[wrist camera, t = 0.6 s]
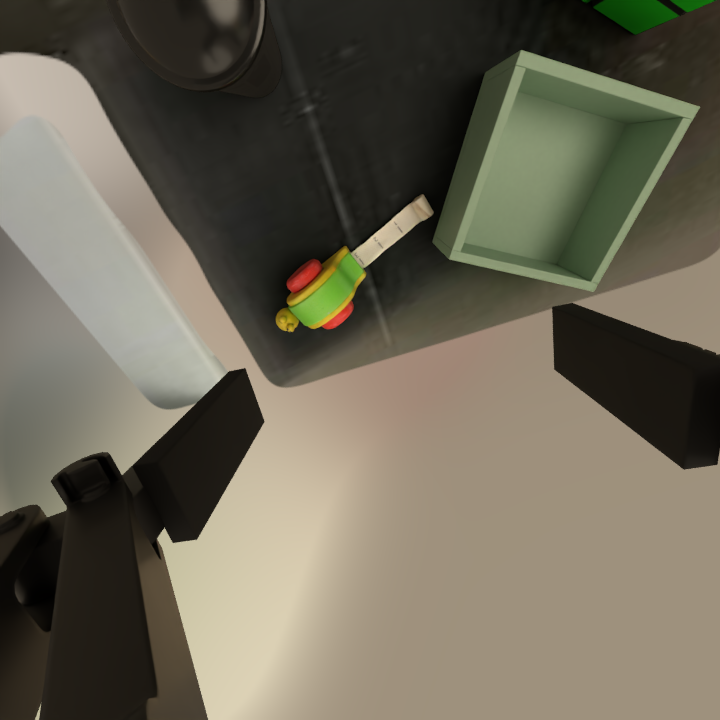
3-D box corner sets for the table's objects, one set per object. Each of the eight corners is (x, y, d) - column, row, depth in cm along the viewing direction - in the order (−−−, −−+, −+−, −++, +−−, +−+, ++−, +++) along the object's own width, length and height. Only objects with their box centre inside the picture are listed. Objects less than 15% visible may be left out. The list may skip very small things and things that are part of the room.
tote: (485, 72, 29) (520, 49, 23) (631, 116, 31) (700, 106, 25) (431, 242, 36) (448, 259, 30) (554, 270, 38) (593, 291, 32)
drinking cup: (295, -3, 26) (197, -308, 9) (302, 118, 30) (241, 64, 13) (194, -7, 26) (-104, -327, 9) (213, 116, 30) (31, 58, 13)
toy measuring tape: (262, 295, 38) (247, 319, 33) (409, 173, 33) (422, 176, 27) (301, 336, 41) (294, 365, 35) (444, 230, 35) (462, 243, 30)
